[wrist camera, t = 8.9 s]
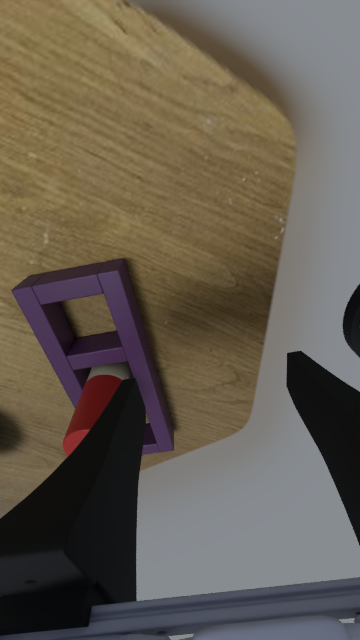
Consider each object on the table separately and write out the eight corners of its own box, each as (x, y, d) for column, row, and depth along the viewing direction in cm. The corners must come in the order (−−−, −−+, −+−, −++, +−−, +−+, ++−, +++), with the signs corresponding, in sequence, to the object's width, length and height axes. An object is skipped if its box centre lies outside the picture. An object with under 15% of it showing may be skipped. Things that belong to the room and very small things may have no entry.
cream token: (142, 362, 24) (138, 386, 21) (122, 387, 25) (117, 412, 23) (105, 343, 23) (97, 366, 20) (87, 371, 24) (77, 396, 22)
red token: (138, 386, 21) (130, 442, 17) (116, 412, 23) (104, 471, 18) (96, 366, 20) (76, 422, 16) (76, 396, 22) (53, 454, 17)
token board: (124, 258, 19) (118, 270, 17) (173, 428, 29) (174, 450, 26) (27, 276, 20) (10, 290, 17) (108, 438, 29) (103, 460, 27)
